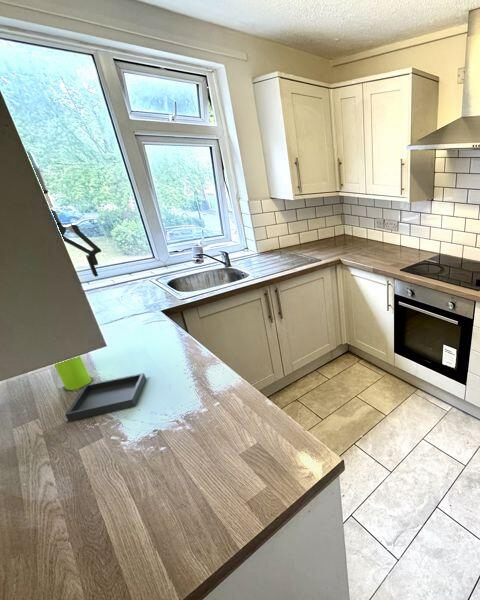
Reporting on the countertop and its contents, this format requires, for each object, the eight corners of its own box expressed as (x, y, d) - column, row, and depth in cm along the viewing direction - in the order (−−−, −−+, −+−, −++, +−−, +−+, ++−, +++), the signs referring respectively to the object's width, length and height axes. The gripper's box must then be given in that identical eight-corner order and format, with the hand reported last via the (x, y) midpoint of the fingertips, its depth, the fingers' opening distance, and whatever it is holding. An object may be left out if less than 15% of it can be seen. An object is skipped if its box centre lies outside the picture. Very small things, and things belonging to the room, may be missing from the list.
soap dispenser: (71, 393, 98) (42, 335, 90) (62, 385, 101) (34, 329, 93) (95, 383, 102) (70, 326, 94) (87, 375, 106) (61, 321, 98)
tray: (68, 421, 88) (64, 414, 87) (88, 391, 99) (85, 384, 98) (134, 406, 93) (132, 399, 92) (146, 379, 104) (143, 372, 103)
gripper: (-34, 216, 80) (7, 296, 89) (97, 206, 98) (121, 273, 107) (-34, 213, 85) (5, 289, 93) (91, 204, 103) (114, 268, 111)
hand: (67, 281), depth 100 cm, fingers open, 13 cm apart
